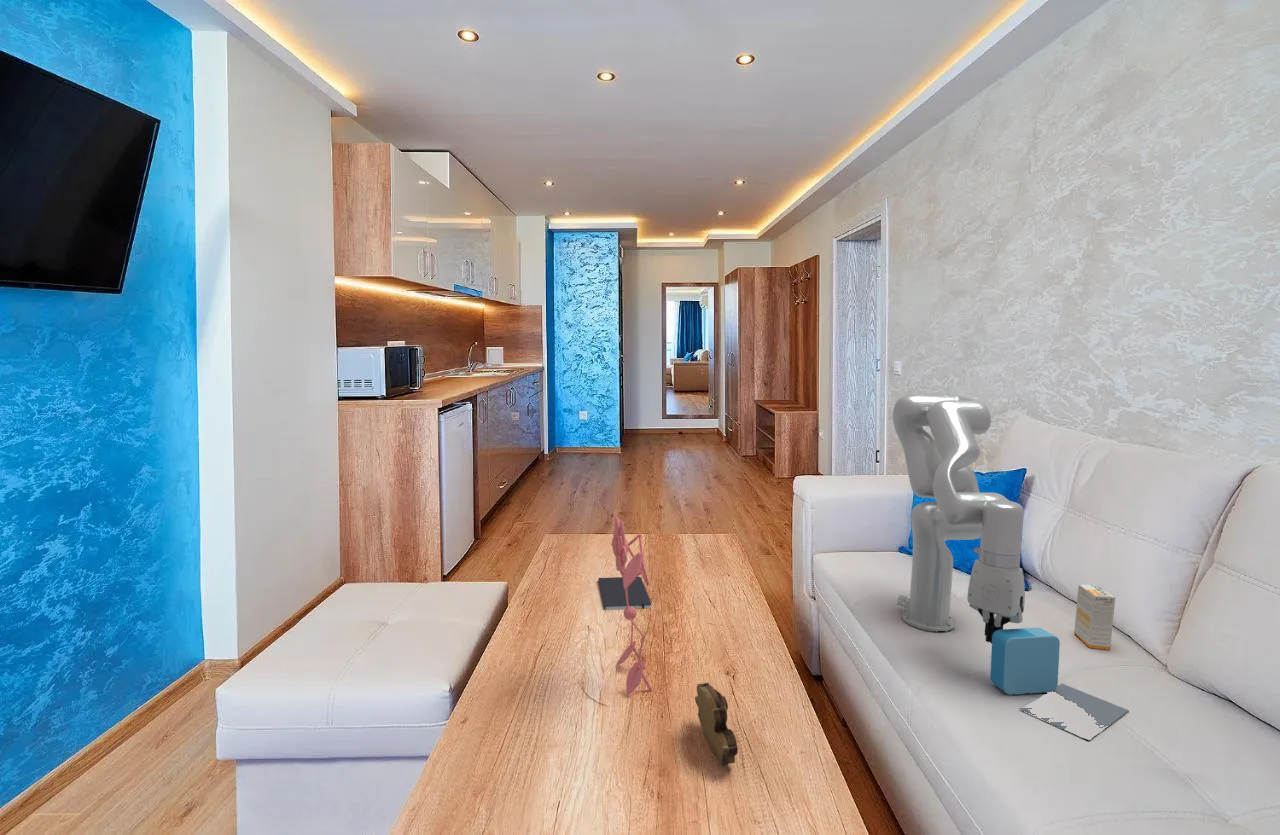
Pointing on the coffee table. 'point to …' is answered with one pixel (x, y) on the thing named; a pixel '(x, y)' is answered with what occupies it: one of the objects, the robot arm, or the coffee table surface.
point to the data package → (1024, 660)
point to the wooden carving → (716, 723)
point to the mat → (1088, 706)
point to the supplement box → (1094, 616)
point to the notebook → (623, 594)
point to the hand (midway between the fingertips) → (993, 641)
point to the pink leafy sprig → (630, 613)
